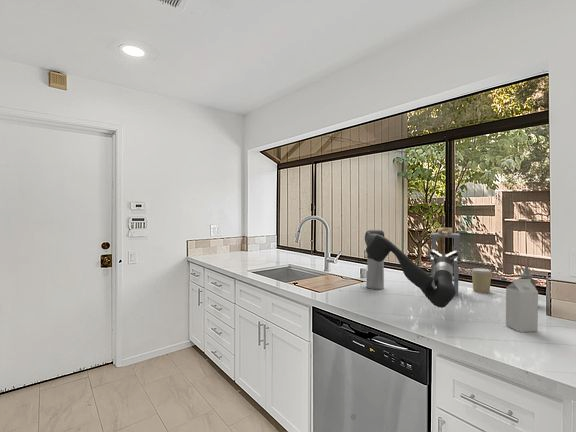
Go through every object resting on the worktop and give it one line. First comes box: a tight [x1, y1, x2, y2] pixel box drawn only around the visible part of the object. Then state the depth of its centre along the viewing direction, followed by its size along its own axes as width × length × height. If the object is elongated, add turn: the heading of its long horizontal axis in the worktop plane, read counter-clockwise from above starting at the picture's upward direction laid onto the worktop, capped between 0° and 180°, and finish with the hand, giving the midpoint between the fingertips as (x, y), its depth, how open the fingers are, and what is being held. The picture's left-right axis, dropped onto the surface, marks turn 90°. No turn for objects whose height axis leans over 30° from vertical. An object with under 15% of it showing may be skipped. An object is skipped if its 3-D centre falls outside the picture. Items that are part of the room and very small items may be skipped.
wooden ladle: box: [437, 227, 453, 236], centre depth 171 cm, size 7×19×3 cm, turn 153°
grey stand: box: [429, 232, 461, 297], centre depth 176 cm, size 14×10×32 cm
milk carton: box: [505, 278, 539, 333], centre depth 124 cm, size 7×7×19 cm
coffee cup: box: [471, 267, 493, 294], centre depth 178 cm, size 9×9×12 cm
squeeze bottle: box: [518, 266, 537, 289], centre depth 154 cm, size 8×8×18 cm
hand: (444, 247), depth 157 cm, fingers open, 8 cm apart
